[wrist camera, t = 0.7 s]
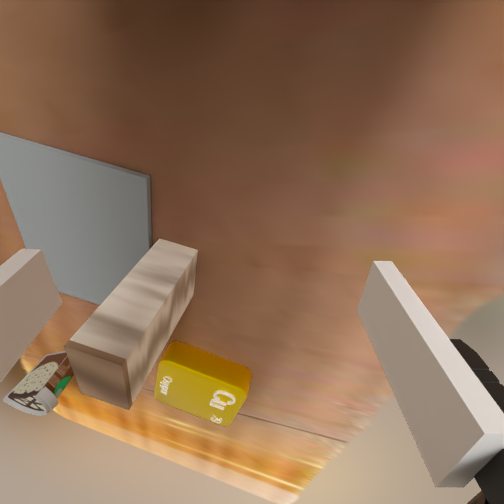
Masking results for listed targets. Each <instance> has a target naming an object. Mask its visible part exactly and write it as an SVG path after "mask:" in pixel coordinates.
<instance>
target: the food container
mask: <svg viewBox="0 0 504 504" xmlns="http://www.w3.org/2000/svg"><path fill="white" fill-rule="evenodd" d="M73 375H74V372H73V370H72V367H71V364H70V361H69V358H68V356H67V353H66V351H63V352H58V353H53V354H48V355H46V356H45V357H44V358H43V359H42V360H41V361H40V362H39V363H38V364H37V365H36V366H35V367H34V368H33V369H32V370H31V371H30V372H29V373H28V374H27V375H26V376H25V377H24V378H23V380H22V381H21V382H20V383H19V384H18V385H17V386H16V387H15V388H14V389H13V390H10V392H9V393H8V394H7V395H6V397H5V398H4V399H3V401H4V402H6V403H7V404H9V405H11V406H13V407H15V408H17V409H19V410H21V411H24V412H26V413H29V414H33V415H38V416H44V415H46V414H47V413H48V412H50V411H51V410H52V409H53V408H54V407H55V406H57V404H58V400H57V398H58V397H59V395H60V394H61V392H62V391H63V390H64V388H65V387H66V385H67V384H68V382H69V381H70V379H71V378H72V376H73Z"/></svg>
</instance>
